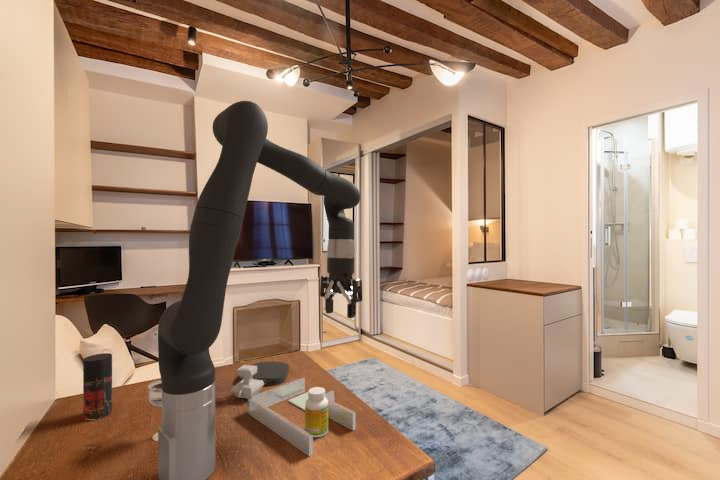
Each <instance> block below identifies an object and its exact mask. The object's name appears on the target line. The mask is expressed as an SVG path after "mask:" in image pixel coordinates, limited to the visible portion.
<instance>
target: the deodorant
mask: <svg viewBox="0 0 720 480" xmlns="http://www.w3.org/2000/svg"><path fill="white" fill-rule="evenodd" d="M82 367H83V368H82V370H83V373H82V375H83V376H82V378H83V379H82V383H83V386H82V387H83V388H82V389H83V390H82V392H83V393H82V394H83V395H82V397H83V400H82V401H83V407H82V408H83V409H82V411H83V412H82V413H83V414H82V415H83V417H82V418H84V419H97V420H99V419H98V418H101V419H103V418H105V416H106V417H107V416H110V415H111V414H112V413H111V412H113V353H107V352H106V353H104V352H103V353H95V354H93V355H89V356H86V357H84V358H83V364H82ZM110 413H111V414H110ZM102 417H103V418H102ZM84 419H83V420H84Z"/></svg>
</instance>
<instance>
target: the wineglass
mask: <svg viewBox="0 0 720 480" xmlns="http://www.w3.org/2000/svg"><path fill="white" fill-rule="evenodd" d="M147 388H148V389H149V391H148V394H147V399H148V401H149V403H151V404H152V405H153V406H155V407H160V408H161V409H162V380H161V378H160V379H157V380H154V381H152V382H151V383H149V384H148V386H147ZM152 440H153V441H155V442H158V432H156V433H154V434H153V436H152Z"/></svg>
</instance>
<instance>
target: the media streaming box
mask: <svg viewBox="0 0 720 480" xmlns="http://www.w3.org/2000/svg"><path fill="white" fill-rule="evenodd" d="M251 365H253V366H257V373H256V374H254V375H253V377H252V378H253V379H257V380H262V381H263V382H264V385H263V386H276V385H280V384H281V385H282V383H285V382H286V380H287V378H288V375H289V373H290V364H289V363H287V362H283V361H261V362H256V363H252V364H251ZM243 379H244V378H243V377H240V376H239V382H240V381H242V380H243Z"/></svg>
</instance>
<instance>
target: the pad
mask: <svg viewBox="0 0 720 480" xmlns="http://www.w3.org/2000/svg"><path fill="white" fill-rule="evenodd" d="M308 398H309V397H308V391H307V392H303V393H301V394H298V396H297V395H296V396H294V397H291V398H289V399H287V400H288V403H290V404H292V405H293V406H296V407H298V408H299V409H300V410H303V411H304V412H305V403H306V400H307V399H308Z"/></svg>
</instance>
